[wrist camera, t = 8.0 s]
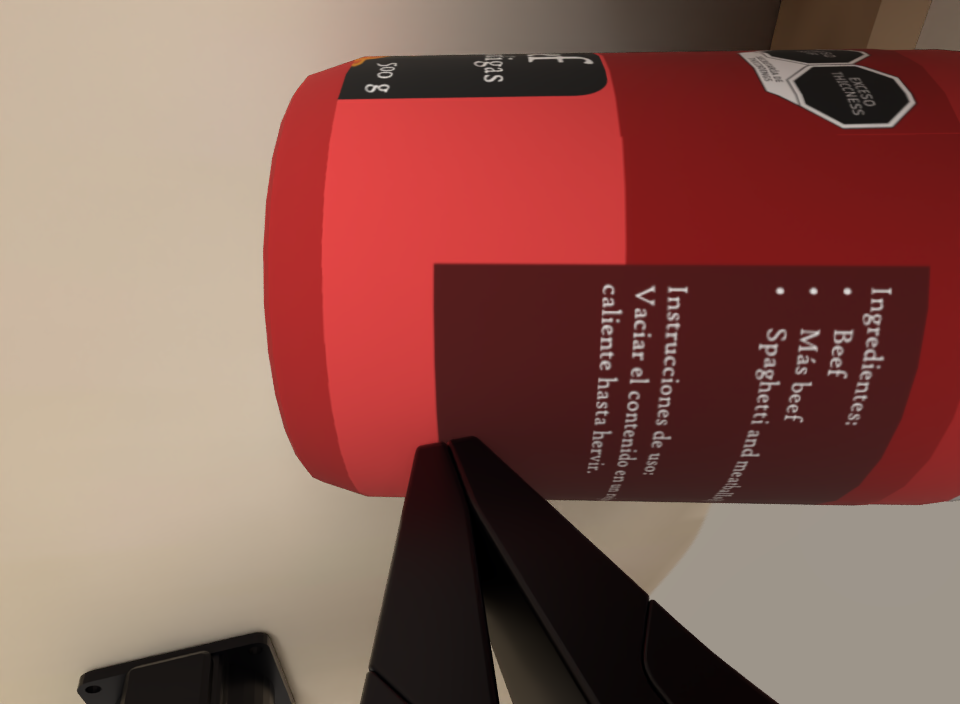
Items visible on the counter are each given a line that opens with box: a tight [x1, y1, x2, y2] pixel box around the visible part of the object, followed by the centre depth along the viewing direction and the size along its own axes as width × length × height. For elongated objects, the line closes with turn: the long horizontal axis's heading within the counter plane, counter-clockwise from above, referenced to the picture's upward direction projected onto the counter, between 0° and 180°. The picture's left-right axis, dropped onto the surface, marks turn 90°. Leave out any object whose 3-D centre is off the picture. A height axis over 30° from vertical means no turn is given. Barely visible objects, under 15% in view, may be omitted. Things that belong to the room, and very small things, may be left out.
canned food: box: [263, 49, 960, 505], centre depth 12 cm, size 8×8×11 cm
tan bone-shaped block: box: [770, 0, 932, 50], centre depth 16 cm, size 16×7×3 cm, turn 1°
